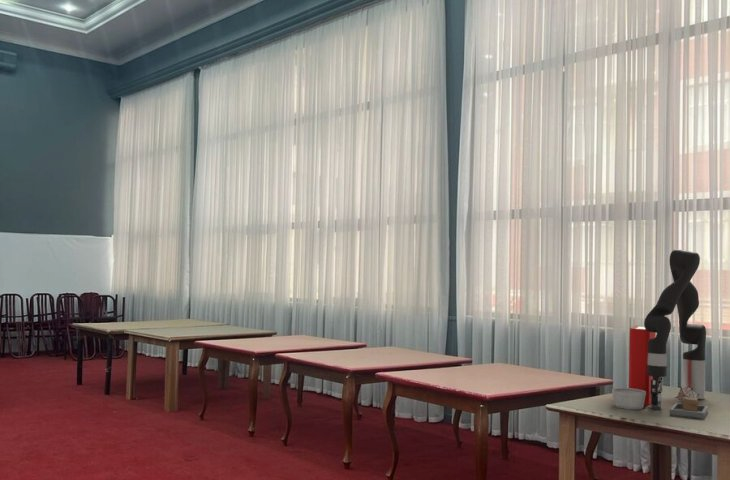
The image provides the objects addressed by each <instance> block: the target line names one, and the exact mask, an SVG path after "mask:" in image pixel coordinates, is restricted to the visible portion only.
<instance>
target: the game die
mask: <svg viewBox="0 0 730 480" xmlns="http://www.w3.org/2000/svg"><path fill="white" fill-rule="evenodd" d="M679 388H680V390H679V392H678V394H677V396H675V399H678V400H679V401H681V403H683V398H684V397H688V398H697V396H698V395H700V394H696V393H695V392H694V391H693V390H692V389H693V388H692V389H691V388H690V386H689V388H683V387H682V386H679Z"/></svg>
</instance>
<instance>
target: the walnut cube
mask: <svg viewBox="0 0 730 480" xmlns="http://www.w3.org/2000/svg"><path fill="white" fill-rule="evenodd" d="M698 405H699V399H698V398H688V397H684V398H683V410H684V411H693V412H698Z"/></svg>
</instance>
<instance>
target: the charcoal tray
mask: <svg viewBox="0 0 730 480" xmlns="http://www.w3.org/2000/svg"><path fill="white" fill-rule="evenodd" d="M708 413H709V406H708V405H700V404H698V412H693V411H684V410H683V403H682V402H681V403H680V402H675V403H674V405H672V406H671V408H670V409H669V416H670V417H677V418H685V419H686V418H687V419H695V420H701V421H702V420H705V419H706V417H707V415H708Z"/></svg>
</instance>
